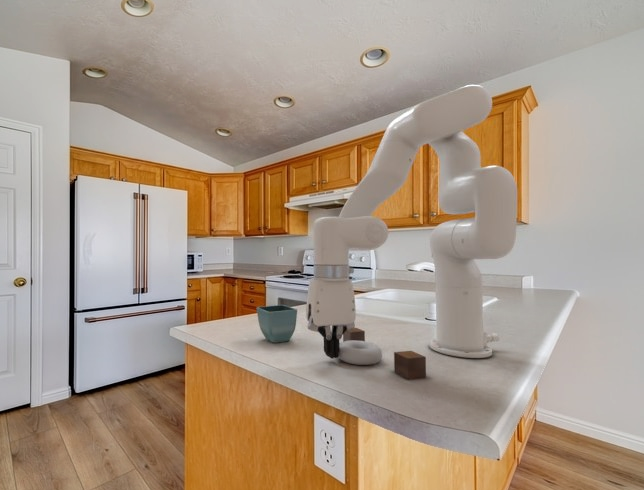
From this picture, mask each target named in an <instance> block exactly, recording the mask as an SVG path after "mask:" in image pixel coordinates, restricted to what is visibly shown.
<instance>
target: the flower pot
mask: <svg viewBox="0 0 644 490" xmlns="http://www.w3.org/2000/svg"><path fill="white" fill-rule="evenodd" d="M256 315H257V321H258V326H259V329H260V331H261V333H262V335H263V337H264V338H265V339H266V340H267V341H269V342H271V343H272V344H275V343H282V342H289V341H290V340H291V338H292V337H293V335H294V333H295V331H296V327H297V318H298V309H297V308H294V307H291V306H288V305H285V304H276V305H275V304H274V305H266V306H257V307H256Z"/></svg>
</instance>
